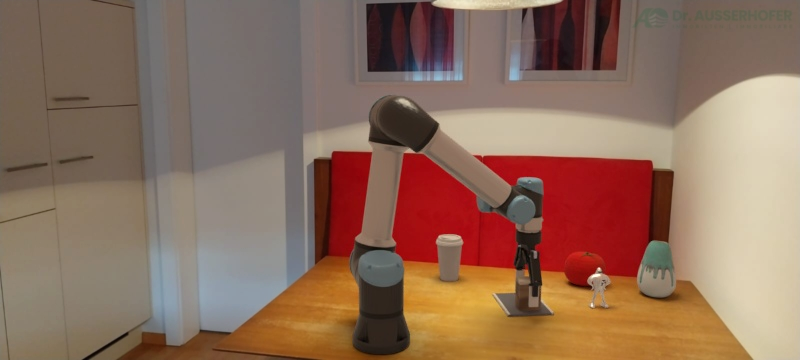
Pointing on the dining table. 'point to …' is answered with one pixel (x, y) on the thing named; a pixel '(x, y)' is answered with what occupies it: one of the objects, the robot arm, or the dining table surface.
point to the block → (524, 294)
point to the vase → (657, 270)
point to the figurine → (598, 286)
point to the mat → (511, 310)
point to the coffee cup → (449, 256)
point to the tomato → (582, 267)
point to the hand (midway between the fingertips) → (526, 298)
